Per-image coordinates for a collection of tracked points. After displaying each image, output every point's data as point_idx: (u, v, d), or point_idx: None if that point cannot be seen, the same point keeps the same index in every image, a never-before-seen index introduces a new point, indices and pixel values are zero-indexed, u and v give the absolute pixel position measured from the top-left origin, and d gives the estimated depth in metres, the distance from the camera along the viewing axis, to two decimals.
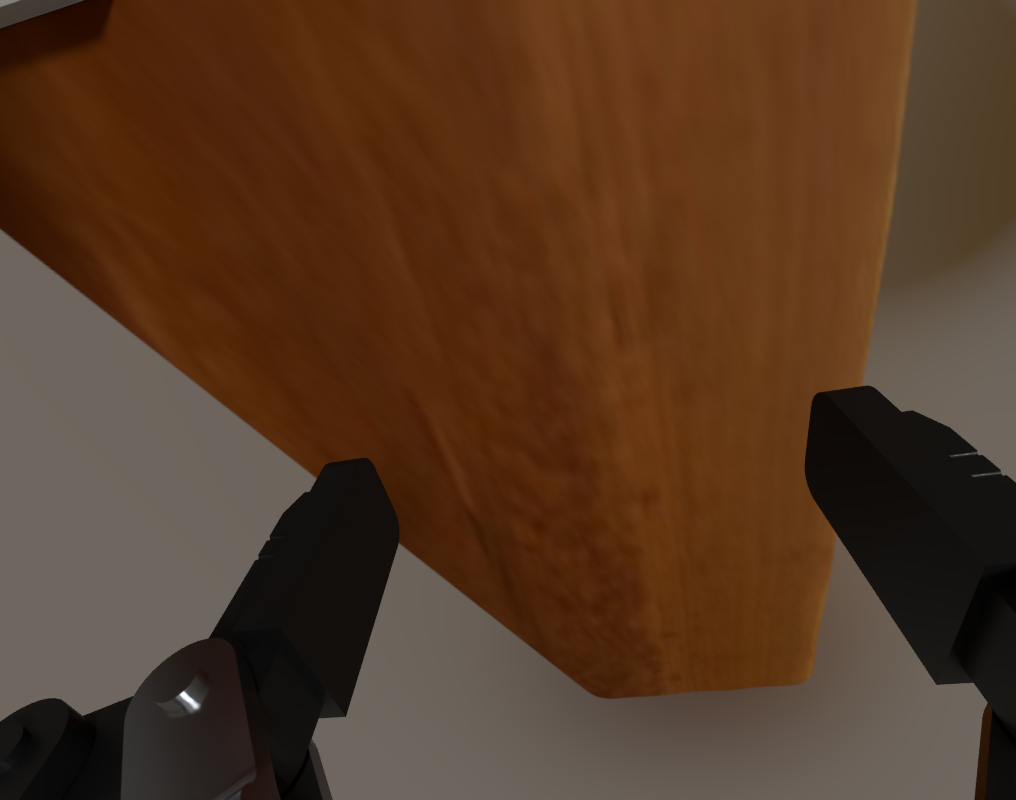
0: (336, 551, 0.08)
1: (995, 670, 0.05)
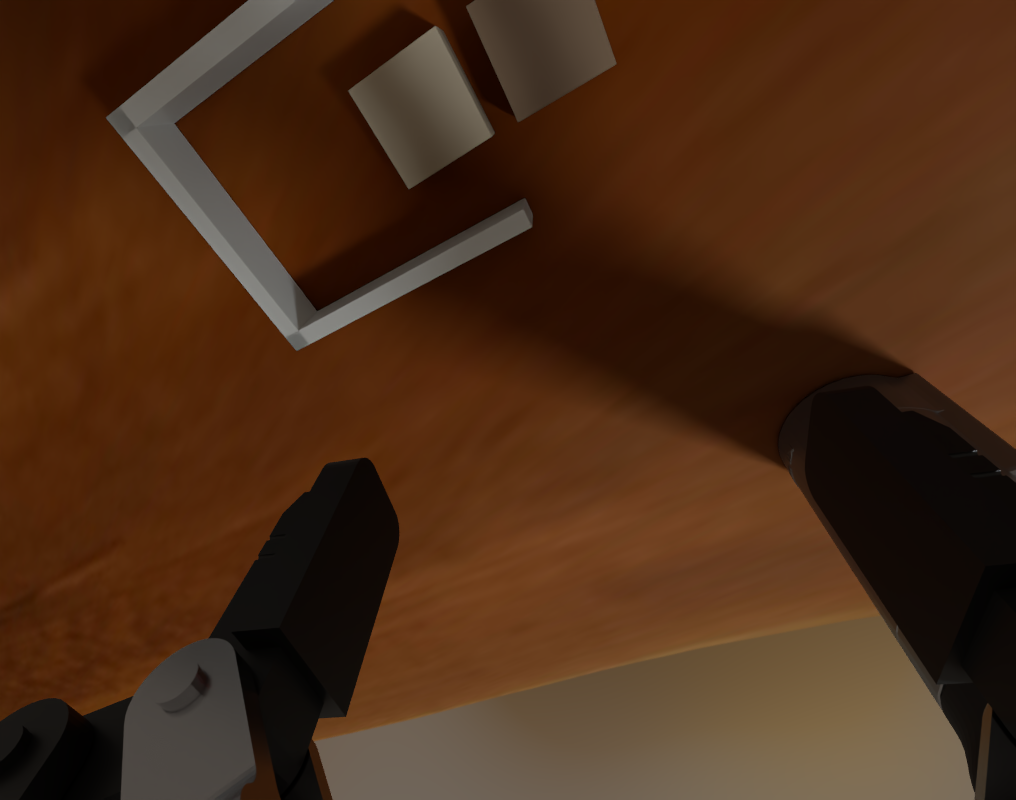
0: (336, 551, 0.08)
1: (996, 672, 0.05)
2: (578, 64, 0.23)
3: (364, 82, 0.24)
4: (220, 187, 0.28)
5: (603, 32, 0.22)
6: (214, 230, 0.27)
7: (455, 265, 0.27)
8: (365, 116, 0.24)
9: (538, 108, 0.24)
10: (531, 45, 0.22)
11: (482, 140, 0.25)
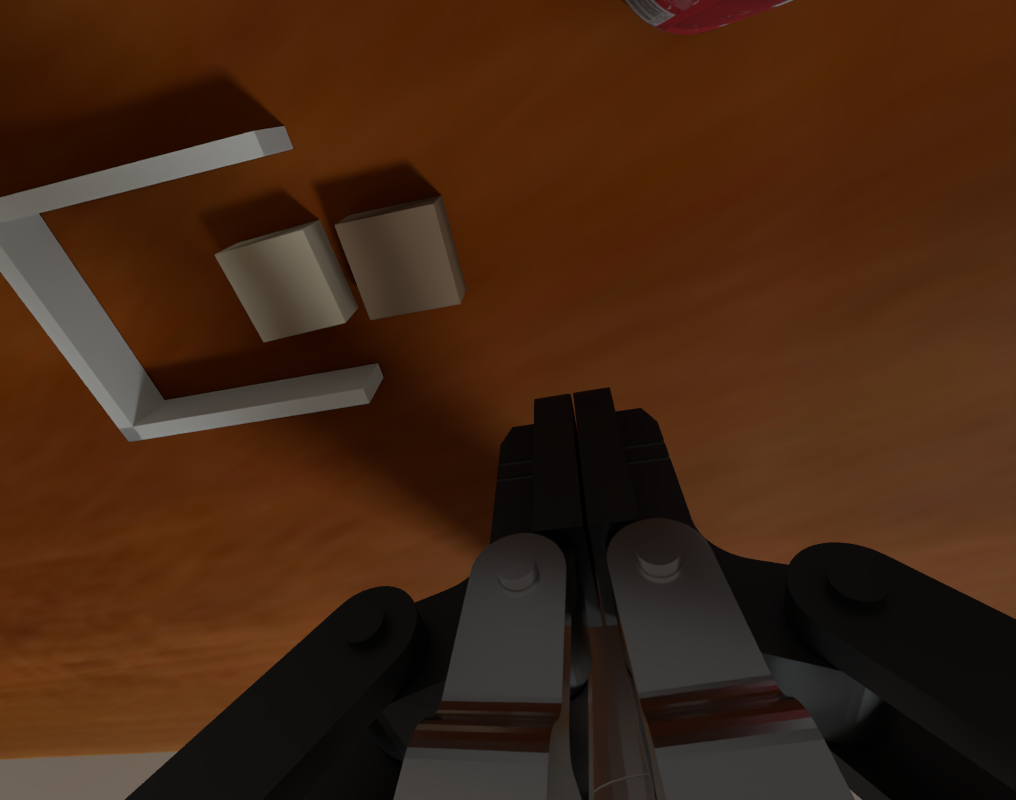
0: (579, 473, 0.08)
1: None
2: (428, 295, 0.26)
3: (230, 252, 0.25)
4: (78, 278, 0.28)
5: (452, 279, 0.25)
6: (57, 328, 0.27)
7: (295, 413, 0.29)
8: (228, 278, 0.26)
9: (389, 315, 0.27)
10: (389, 270, 0.25)
11: (336, 323, 0.27)
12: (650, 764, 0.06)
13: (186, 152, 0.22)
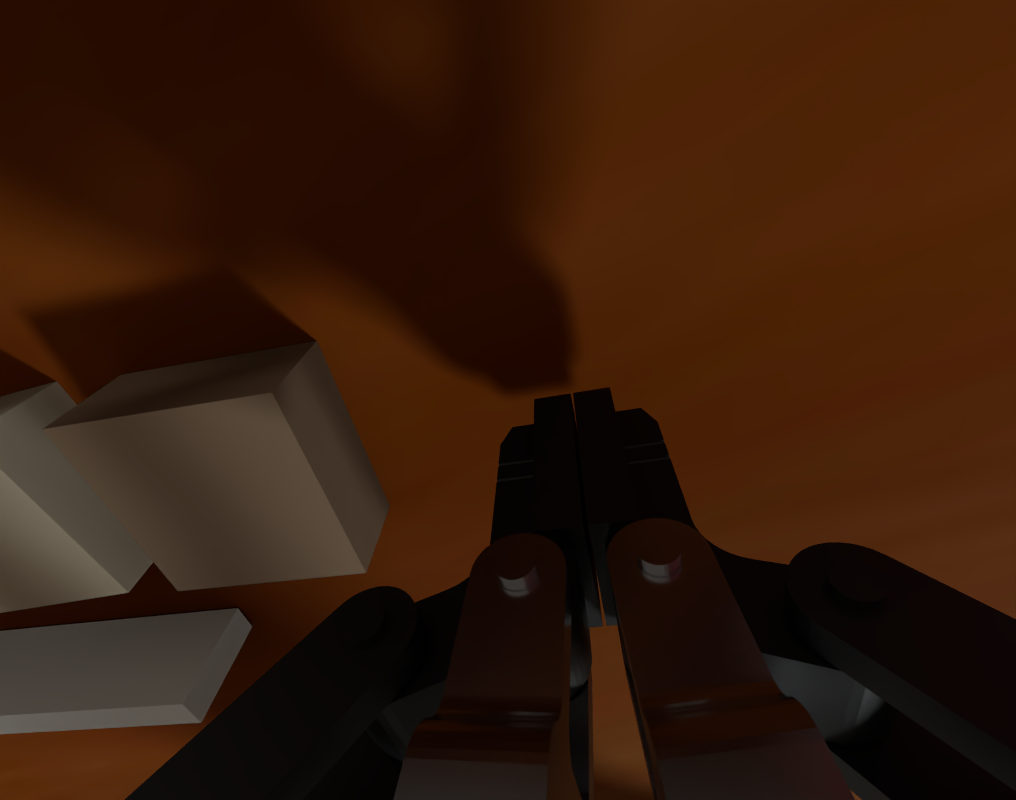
0: (579, 473, 0.08)
1: None
2: (293, 556, 0.12)
3: None
4: None
5: (341, 532, 0.11)
6: None
7: (64, 728, 0.15)
8: None
9: (216, 585, 0.12)
10: (196, 513, 0.11)
11: (111, 592, 0.13)
12: (650, 764, 0.06)
13: None
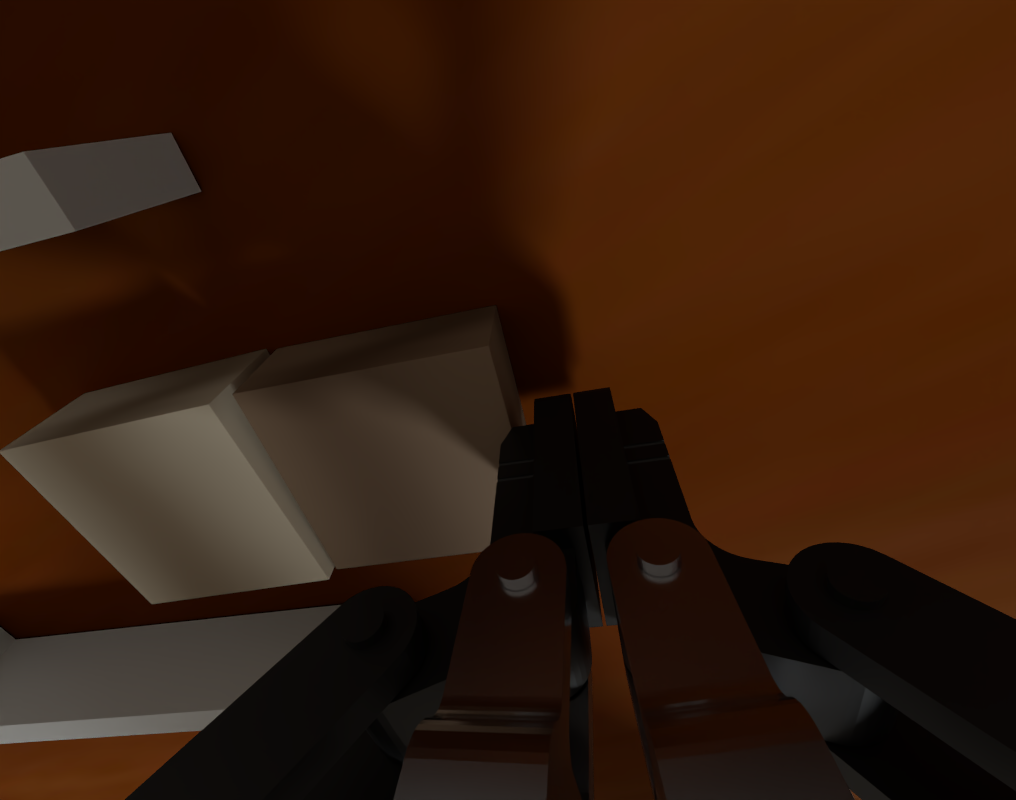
0: (579, 473, 0.08)
1: None
2: (469, 528, 0.11)
3: (37, 448, 0.10)
4: None
5: None
6: None
7: None
8: (45, 496, 0.11)
9: (379, 561, 0.12)
10: (376, 483, 0.10)
11: (309, 579, 0.12)
12: (650, 764, 0.06)
13: None
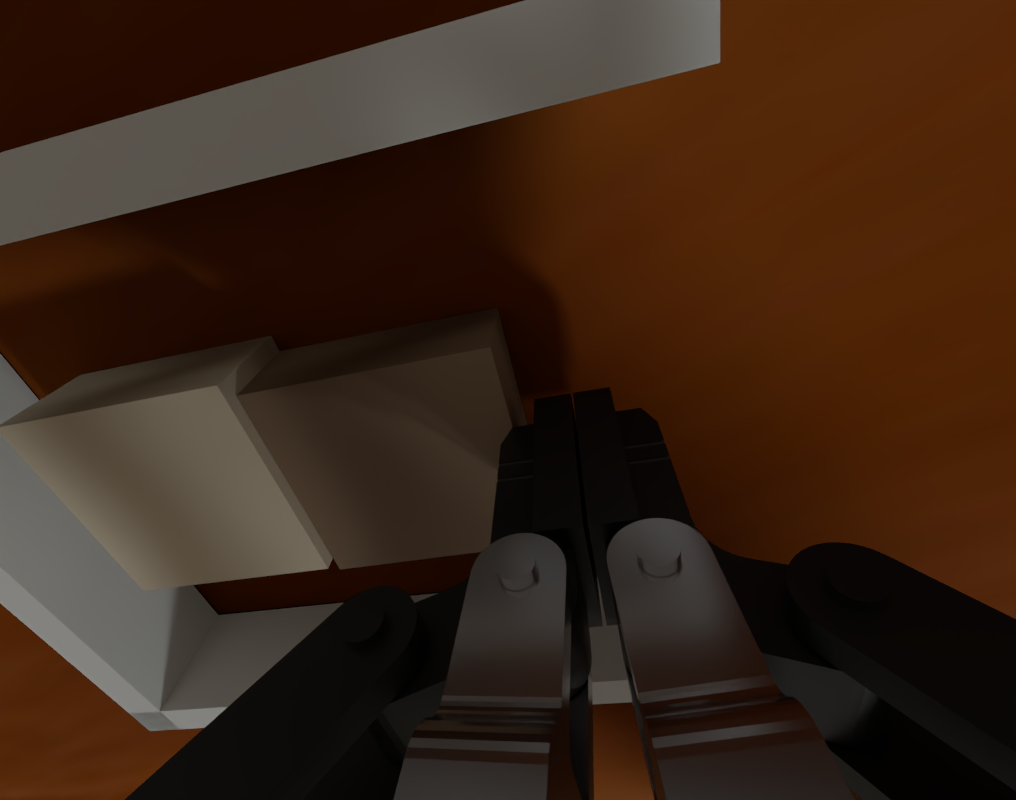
0: (579, 473, 0.08)
1: None
2: (471, 529, 0.11)
3: (36, 426, 0.10)
4: None
5: None
6: None
7: None
8: (41, 476, 0.11)
9: (382, 562, 0.12)
10: (379, 484, 0.11)
11: (307, 568, 0.12)
12: (650, 764, 0.06)
13: (404, 50, 0.06)
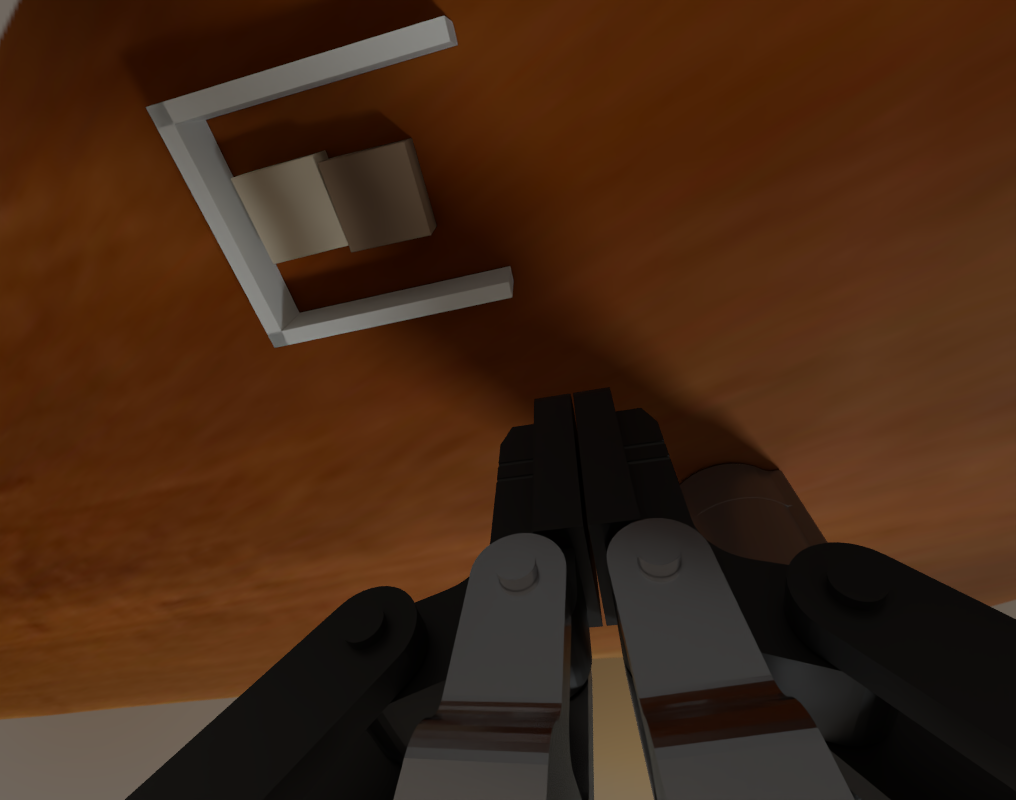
0: (579, 473, 0.08)
1: None
2: (402, 227, 0.29)
3: (245, 176, 0.28)
4: None
5: (422, 211, 0.29)
6: (225, 228, 0.29)
7: (439, 311, 0.31)
8: (243, 201, 0.29)
9: (368, 247, 0.30)
10: (367, 204, 0.29)
11: (340, 245, 0.30)
12: (650, 764, 0.06)
13: (377, 39, 0.24)
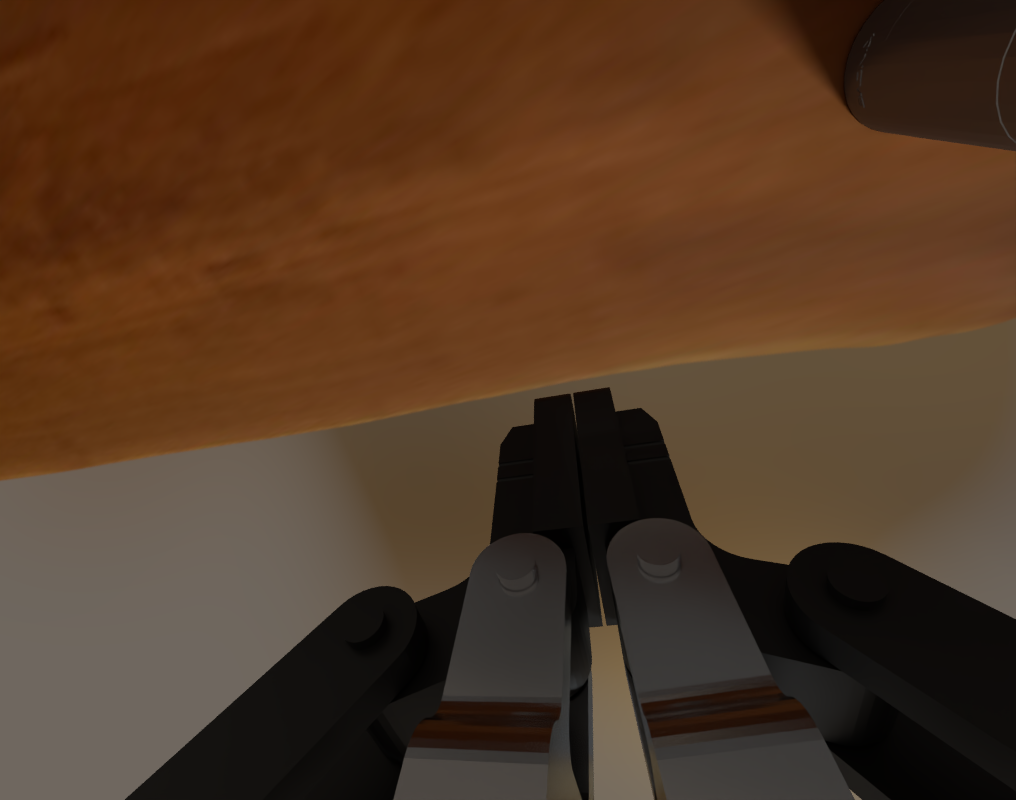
0: (579, 473, 0.08)
1: None
2: None
3: None
4: None
5: None
6: None
7: None
8: None
9: None
10: None
11: None
12: (650, 764, 0.06)
13: None
